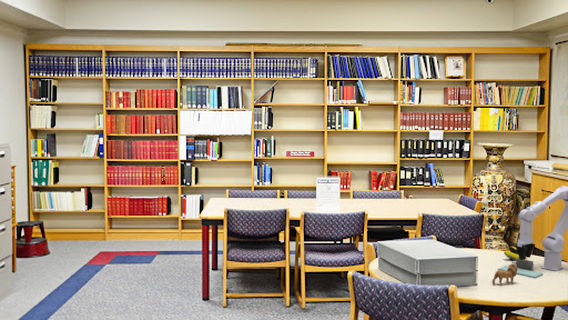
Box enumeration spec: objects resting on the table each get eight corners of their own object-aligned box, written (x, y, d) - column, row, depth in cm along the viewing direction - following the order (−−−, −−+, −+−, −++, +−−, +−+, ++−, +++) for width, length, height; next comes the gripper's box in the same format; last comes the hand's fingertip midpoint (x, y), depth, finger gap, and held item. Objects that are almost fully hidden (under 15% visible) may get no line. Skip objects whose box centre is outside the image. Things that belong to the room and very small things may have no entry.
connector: (514, 265, 289) (514, 257, 289) (534, 270, 282) (534, 261, 281) (511, 267, 287) (511, 258, 287) (531, 271, 279) (531, 262, 279)
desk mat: (505, 267, 287) (506, 265, 287) (542, 274, 273) (542, 273, 273) (497, 270, 281) (498, 268, 281) (535, 278, 267) (535, 276, 267)
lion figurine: (510, 280, 263) (511, 262, 263) (519, 283, 259) (520, 264, 258) (488, 284, 257) (489, 265, 256) (497, 287, 252) (498, 268, 251)
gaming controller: (502, 260, 301) (522, 263, 295) (503, 250, 301) (522, 253, 295) (509, 254, 313) (528, 257, 307) (510, 245, 313) (528, 248, 307)
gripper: (524, 229, 290) (523, 254, 291) (512, 233, 280) (510, 259, 281) (537, 231, 285) (536, 257, 286) (525, 235, 275) (524, 261, 276)
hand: (524, 258), depth 283 cm, fingers open, 7 cm apart
